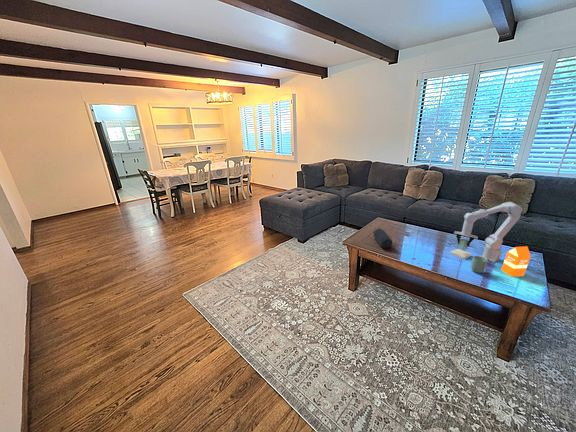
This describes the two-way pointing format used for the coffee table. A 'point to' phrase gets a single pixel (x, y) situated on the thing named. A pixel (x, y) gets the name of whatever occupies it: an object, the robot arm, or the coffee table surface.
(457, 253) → the tray
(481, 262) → the cup
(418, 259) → the coffee table surface
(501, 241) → the robot arm
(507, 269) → the orange juice
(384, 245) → the portable speaker
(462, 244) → the block
